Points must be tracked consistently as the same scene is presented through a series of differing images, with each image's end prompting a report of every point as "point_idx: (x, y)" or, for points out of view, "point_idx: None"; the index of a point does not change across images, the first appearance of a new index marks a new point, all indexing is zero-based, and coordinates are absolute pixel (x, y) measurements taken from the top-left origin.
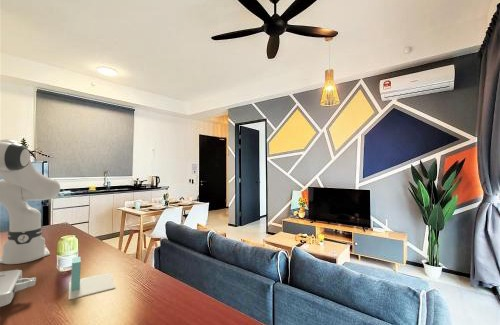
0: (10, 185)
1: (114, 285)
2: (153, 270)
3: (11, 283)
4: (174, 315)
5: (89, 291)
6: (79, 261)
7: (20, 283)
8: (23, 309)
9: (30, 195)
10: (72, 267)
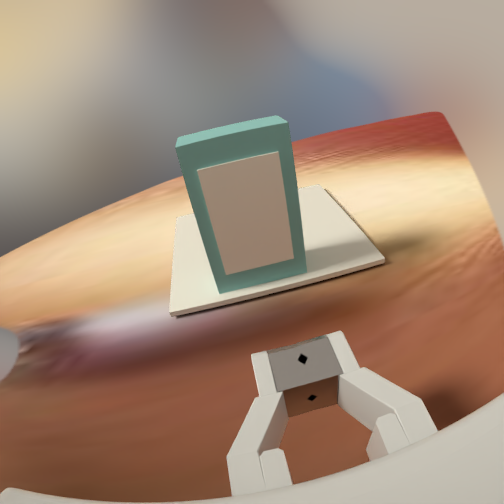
0: None
1: (304, 187)
2: None
3: (468, 451)
4: (442, 133)
5: (331, 223)
6: (268, 117)
7: (408, 405)
8: (446, 409)
9: None
10: (291, 148)
